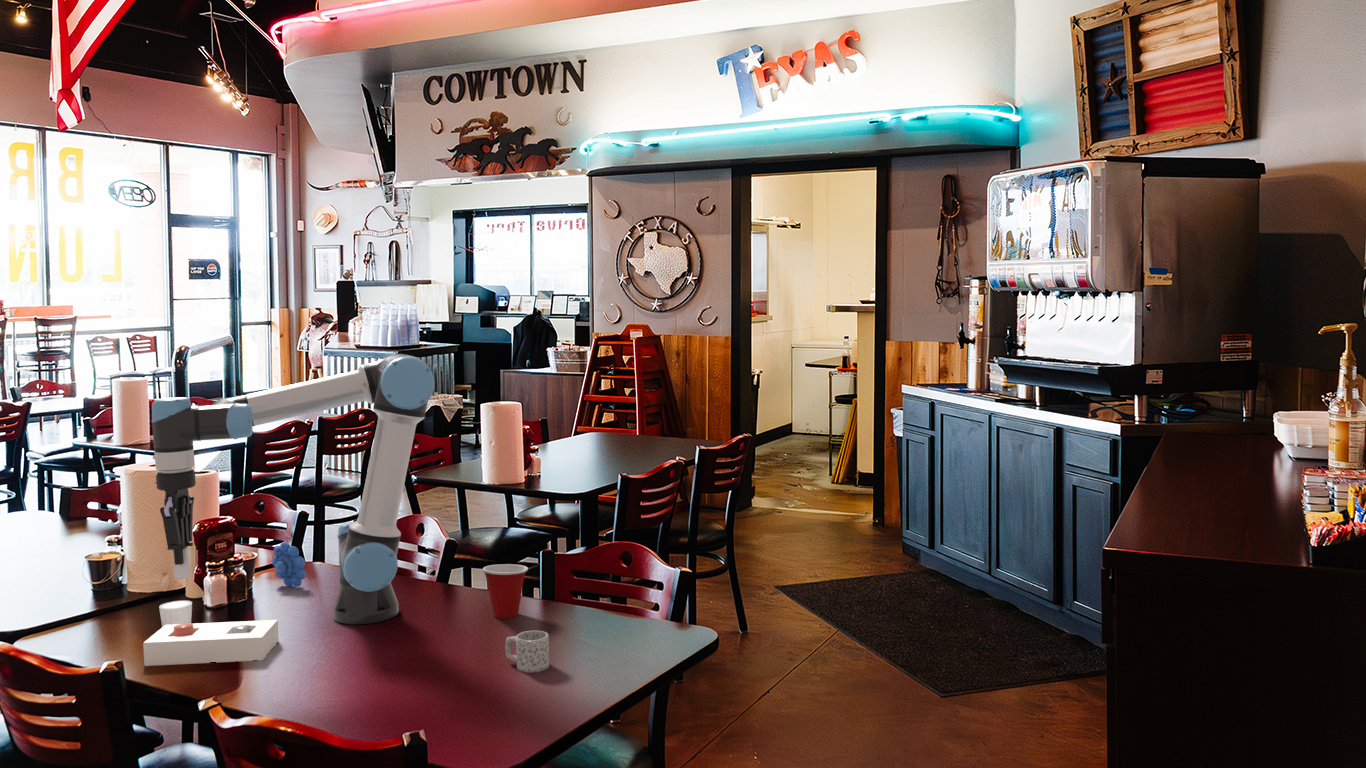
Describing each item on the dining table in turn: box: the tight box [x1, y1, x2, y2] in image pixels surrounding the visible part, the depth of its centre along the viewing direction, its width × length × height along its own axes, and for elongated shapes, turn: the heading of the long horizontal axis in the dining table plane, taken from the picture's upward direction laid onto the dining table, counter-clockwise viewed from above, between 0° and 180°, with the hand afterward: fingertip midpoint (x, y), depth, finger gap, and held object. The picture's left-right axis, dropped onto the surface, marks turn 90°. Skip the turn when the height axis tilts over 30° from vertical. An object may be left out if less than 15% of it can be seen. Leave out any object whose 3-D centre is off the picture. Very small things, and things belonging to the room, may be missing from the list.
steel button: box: [232, 625, 251, 634], centre depth 221 cm, size 4×4×5 cm
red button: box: [174, 623, 194, 636], centre depth 219 cm, size 4×4×5 cm
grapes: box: [271, 541, 307, 588], centre depth 271 cm, size 12×7×12 cm, turn 63°
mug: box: [504, 630, 550, 674], centre depth 211 cm, size 10×7×7 cm, turn 66°
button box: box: [142, 619, 280, 667], centre depth 220 cm, size 24×12×5 cm, turn 97°
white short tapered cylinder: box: [158, 599, 193, 628], centre depth 234 cm, size 7×7×7 cm
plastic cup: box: [482, 563, 529, 620], centre depth 245 cm, size 11×11×12 cm
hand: (182, 577), depth 218 cm, fingers closed
